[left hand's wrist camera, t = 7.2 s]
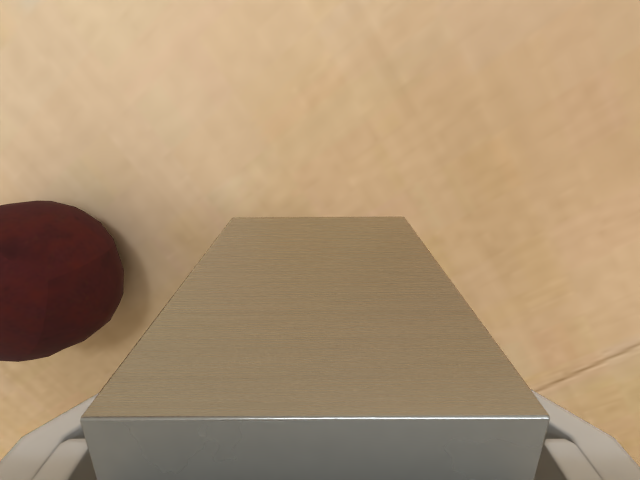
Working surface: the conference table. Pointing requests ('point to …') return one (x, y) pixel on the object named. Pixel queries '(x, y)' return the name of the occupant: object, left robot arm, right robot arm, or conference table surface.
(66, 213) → the dark red plum
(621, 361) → the conference table surface
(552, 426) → the left robot arm
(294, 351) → the bar
